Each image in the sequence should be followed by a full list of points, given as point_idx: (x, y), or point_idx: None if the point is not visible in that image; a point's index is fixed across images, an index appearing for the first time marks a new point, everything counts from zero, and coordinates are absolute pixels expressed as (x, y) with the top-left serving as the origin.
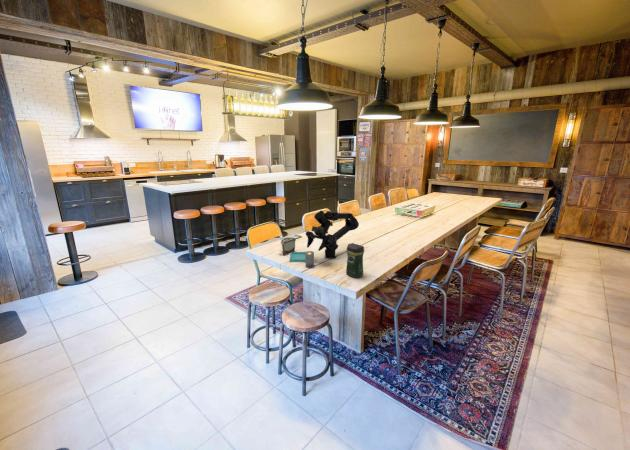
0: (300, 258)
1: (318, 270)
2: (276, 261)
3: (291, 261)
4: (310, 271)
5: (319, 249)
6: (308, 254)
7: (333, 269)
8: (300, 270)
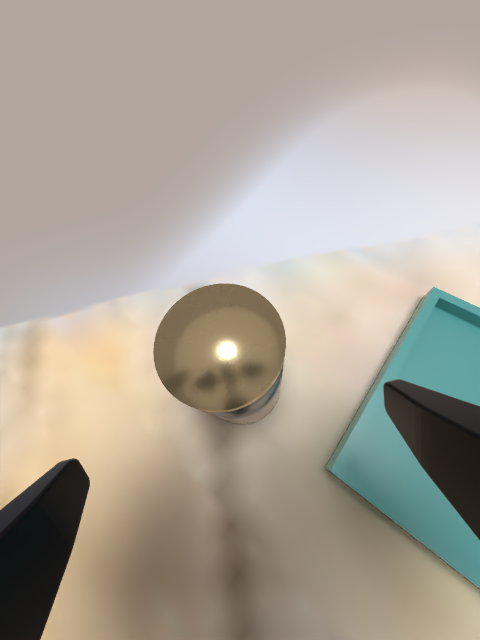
0: None
1: (128, 389)
2: (477, 227)
3: (417, 308)
4: None
5: (46, 481)
6: (186, 299)
7: None
8: None
